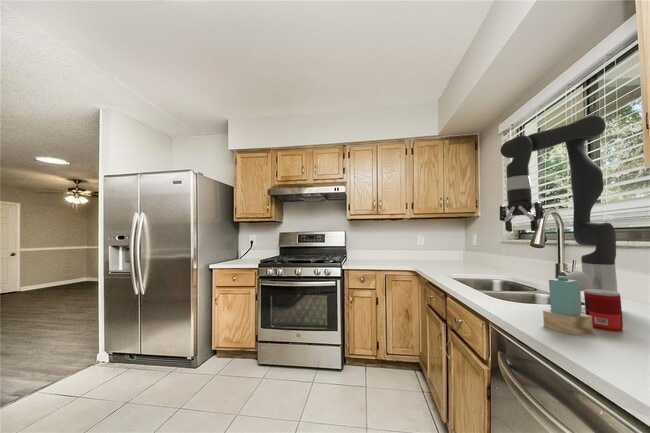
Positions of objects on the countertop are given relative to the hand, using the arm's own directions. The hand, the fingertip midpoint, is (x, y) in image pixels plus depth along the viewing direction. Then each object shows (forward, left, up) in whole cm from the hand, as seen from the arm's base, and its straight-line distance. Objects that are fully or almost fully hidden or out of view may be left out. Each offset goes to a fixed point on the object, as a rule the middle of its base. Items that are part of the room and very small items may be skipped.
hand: (521, 231), depth 102 cm
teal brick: (+8, +16, -25) cm, 31 cm away
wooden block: (+8, +16, -30) cm, 35 cm away
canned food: (-4, +20, -30) cm, 37 cm away
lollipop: (-17, +9, -30) cm, 36 cm away
